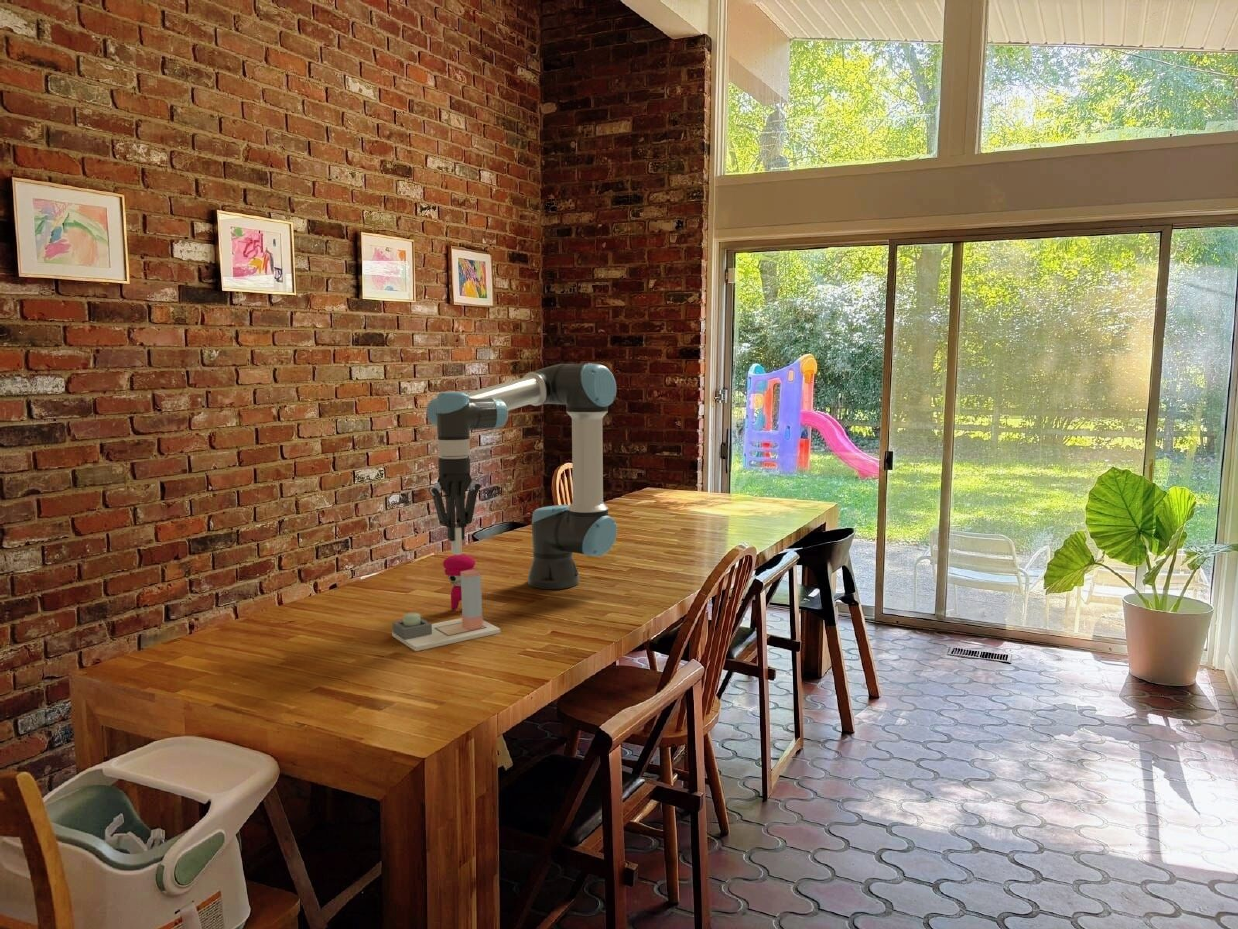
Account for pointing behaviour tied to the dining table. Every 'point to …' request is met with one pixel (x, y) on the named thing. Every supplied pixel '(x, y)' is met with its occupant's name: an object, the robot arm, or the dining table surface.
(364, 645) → the dining table surface
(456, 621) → the panel
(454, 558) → the toy
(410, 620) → the button
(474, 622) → the grey and pink block
